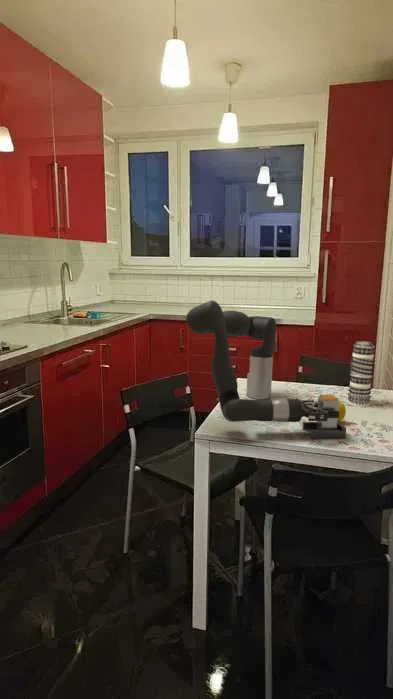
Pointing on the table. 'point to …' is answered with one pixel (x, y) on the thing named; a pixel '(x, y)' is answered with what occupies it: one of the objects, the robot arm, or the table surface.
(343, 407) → the lemon
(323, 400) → the block
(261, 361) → the robot arm
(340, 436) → the channel
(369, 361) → the decorative candle
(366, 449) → the table surface
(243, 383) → the table surface
